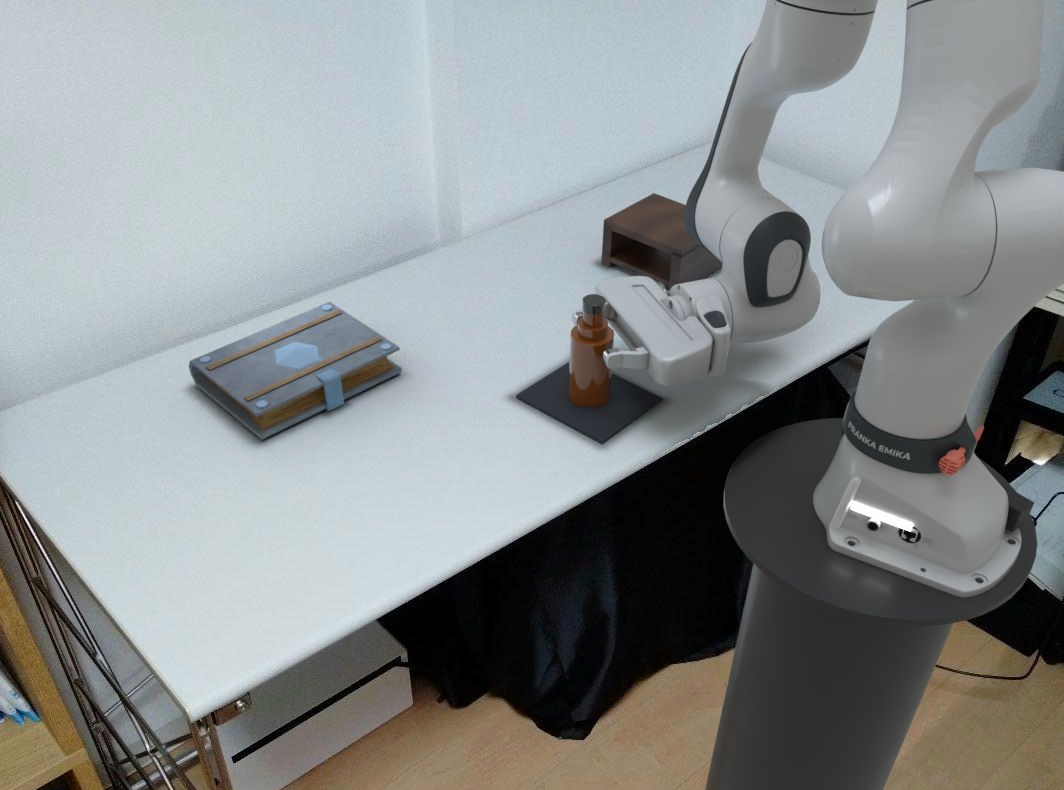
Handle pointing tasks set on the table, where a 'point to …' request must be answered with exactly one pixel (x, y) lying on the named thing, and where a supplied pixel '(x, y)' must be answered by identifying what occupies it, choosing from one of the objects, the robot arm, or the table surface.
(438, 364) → the table surface
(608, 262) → the shelf
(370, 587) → the table surface
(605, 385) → the bottle
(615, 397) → the mat
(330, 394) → the book
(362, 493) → the table surface
